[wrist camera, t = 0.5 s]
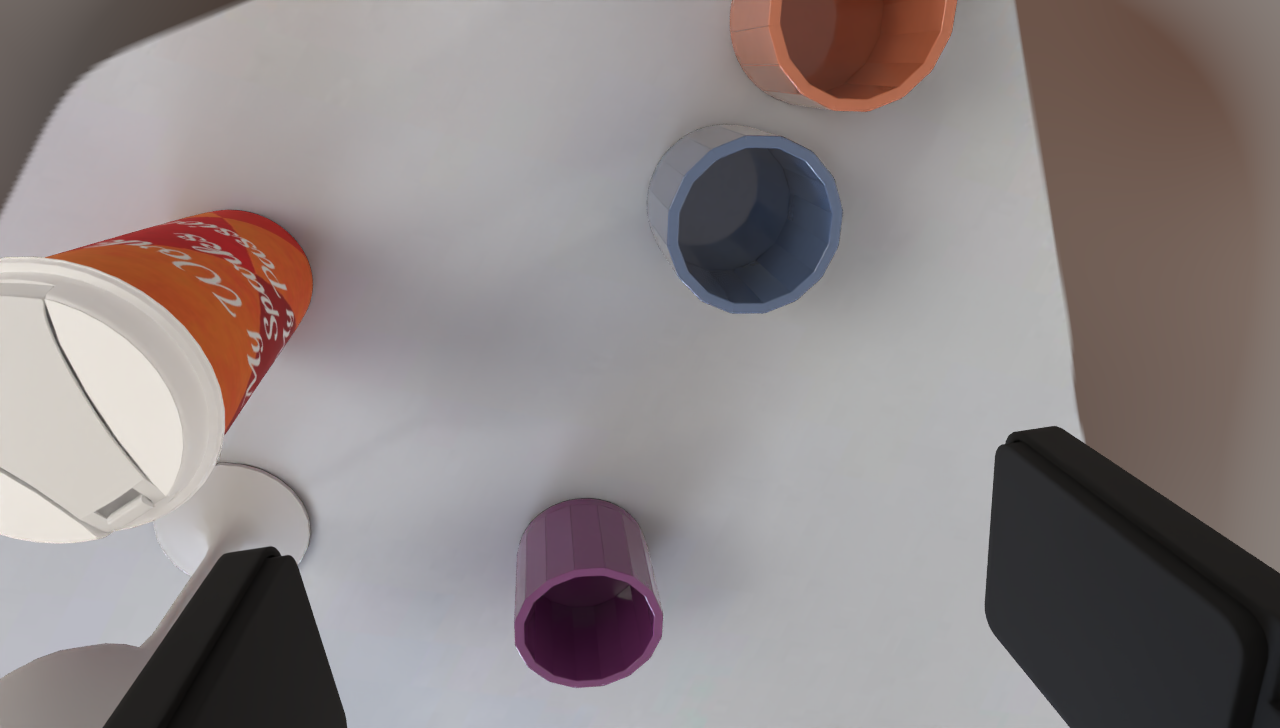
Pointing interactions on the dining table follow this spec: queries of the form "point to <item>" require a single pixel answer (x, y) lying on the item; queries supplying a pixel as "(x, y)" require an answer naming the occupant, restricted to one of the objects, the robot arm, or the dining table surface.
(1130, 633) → the robot arm
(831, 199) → the blue faceted cup
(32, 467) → the coffee cup
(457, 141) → the dining table surface
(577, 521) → the plum cup
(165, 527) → the wineglass
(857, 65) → the terracotta cup
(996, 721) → the dining table surface
